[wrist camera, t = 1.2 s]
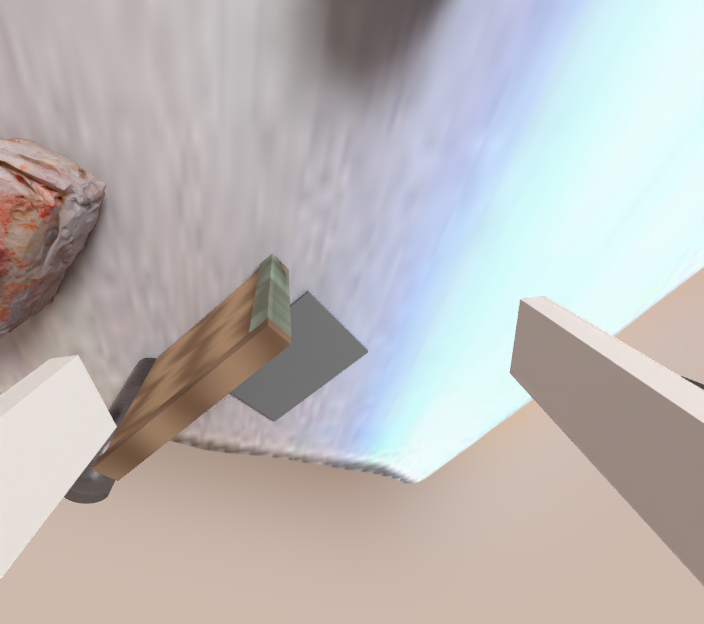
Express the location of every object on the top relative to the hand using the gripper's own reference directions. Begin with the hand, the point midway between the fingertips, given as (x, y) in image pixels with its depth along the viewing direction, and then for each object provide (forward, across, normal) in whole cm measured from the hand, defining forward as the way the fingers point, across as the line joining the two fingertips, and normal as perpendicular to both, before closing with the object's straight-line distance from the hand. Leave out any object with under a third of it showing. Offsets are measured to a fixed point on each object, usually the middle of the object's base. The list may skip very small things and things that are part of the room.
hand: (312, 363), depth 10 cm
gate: (+22, -11, -7) cm, 26 cm away
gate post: (+23, -20, -13) cm, 33 cm away
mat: (+24, -5, -16) cm, 29 cm away
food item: (+22, -22, +3) cm, 31 cm away
